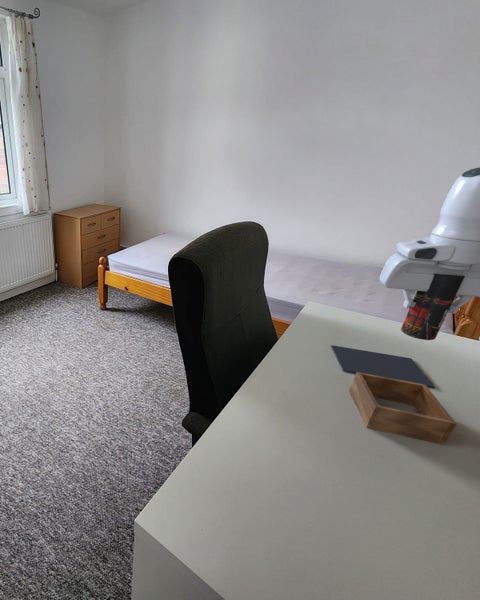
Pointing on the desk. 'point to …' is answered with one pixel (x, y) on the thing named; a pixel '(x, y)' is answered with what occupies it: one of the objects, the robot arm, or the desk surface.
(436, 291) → the deodorant
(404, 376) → the desk mat
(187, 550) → the desk surface
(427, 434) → the wooden box
